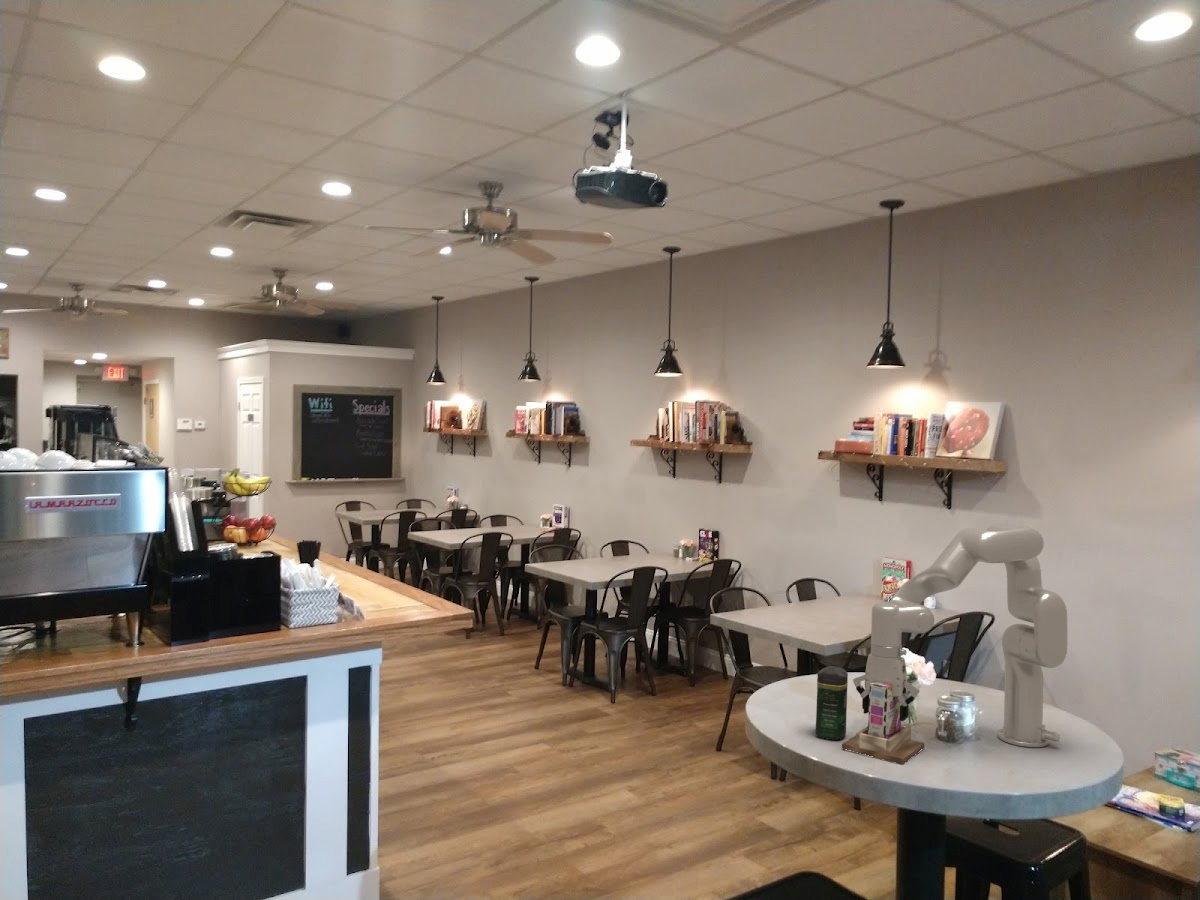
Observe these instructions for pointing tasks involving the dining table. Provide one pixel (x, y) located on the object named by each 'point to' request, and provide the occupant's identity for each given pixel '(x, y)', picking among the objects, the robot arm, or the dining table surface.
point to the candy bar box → (883, 711)
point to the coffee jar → (831, 702)
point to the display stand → (885, 745)
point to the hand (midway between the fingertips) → (884, 716)
